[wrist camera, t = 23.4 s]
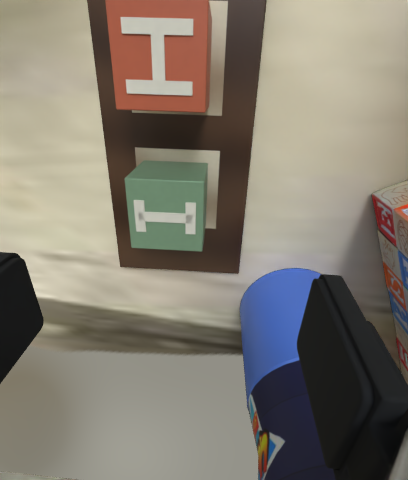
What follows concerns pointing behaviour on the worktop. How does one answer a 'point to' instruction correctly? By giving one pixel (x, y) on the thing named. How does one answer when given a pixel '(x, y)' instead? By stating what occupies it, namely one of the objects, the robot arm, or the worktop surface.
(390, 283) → the stack of blocks
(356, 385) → the robot arm
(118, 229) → the word board
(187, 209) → the letter I
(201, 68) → the letter H
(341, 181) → the worktop surface
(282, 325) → the water bottle
